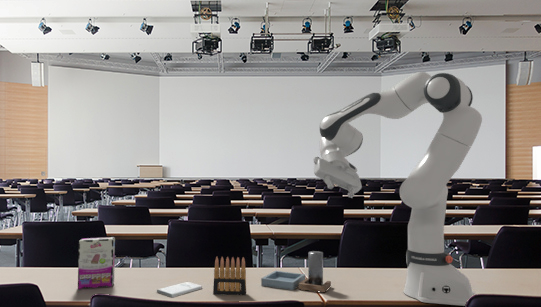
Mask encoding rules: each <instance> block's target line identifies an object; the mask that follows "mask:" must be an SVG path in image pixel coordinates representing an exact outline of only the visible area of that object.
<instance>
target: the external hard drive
mask: <svg viewBox="0 0 541 307" xmlns="http://www.w3.org/2000/svg"><path fill="white" fill-rule="evenodd" d="M202 289H203V285H202V284H201V285H200V284H197V283H193V282H190V281H186V282H181V283H177V284H174V285H169V286H166V287H162V288H157V289H156V293H158V294H161V295H164V296H167V297H169V298H175V297H178V296H181V295H185V294H189V293H191V292H196V291H199V290H202Z"/></svg>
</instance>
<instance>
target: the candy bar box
mask: <svg viewBox="0 0 541 307" xmlns="http://www.w3.org/2000/svg"><path fill="white" fill-rule="evenodd" d="M115 245H116V237H114V236H111V237H106V236H105V237H90V238H89V237H87V238H81V239H80V240H78V257H77V258H78V260H77V261H78V262H77V264H78V266H77V267H78V270H77V289H78V290H83V289H84V290H85V289H86V290H87V289H99V288H110V287H111V288H112V287H113V285H114V284H115V264H116V263H115V262H116V261H115V260H116V258H115V257H116V256H115V254H116V253H115V252H116V250H115V249H116V246H115Z"/></svg>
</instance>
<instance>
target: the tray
mask: <svg viewBox="0 0 541 307" xmlns="http://www.w3.org/2000/svg"><path fill="white" fill-rule="evenodd" d="M305 279H306V274H305V273H296V272H289V271H281V270H274V271H272V272H271V273H268V274H266V275H265V276H263V277H261V279H260V281H261V282H260V283H261V286H262V287H270V288H274V289H275V288H276V289H283V290H289V291H293V290H296V289H297V288H299V283H300V282H302V281H303V280H305ZM296 287H297V288H296Z"/></svg>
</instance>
